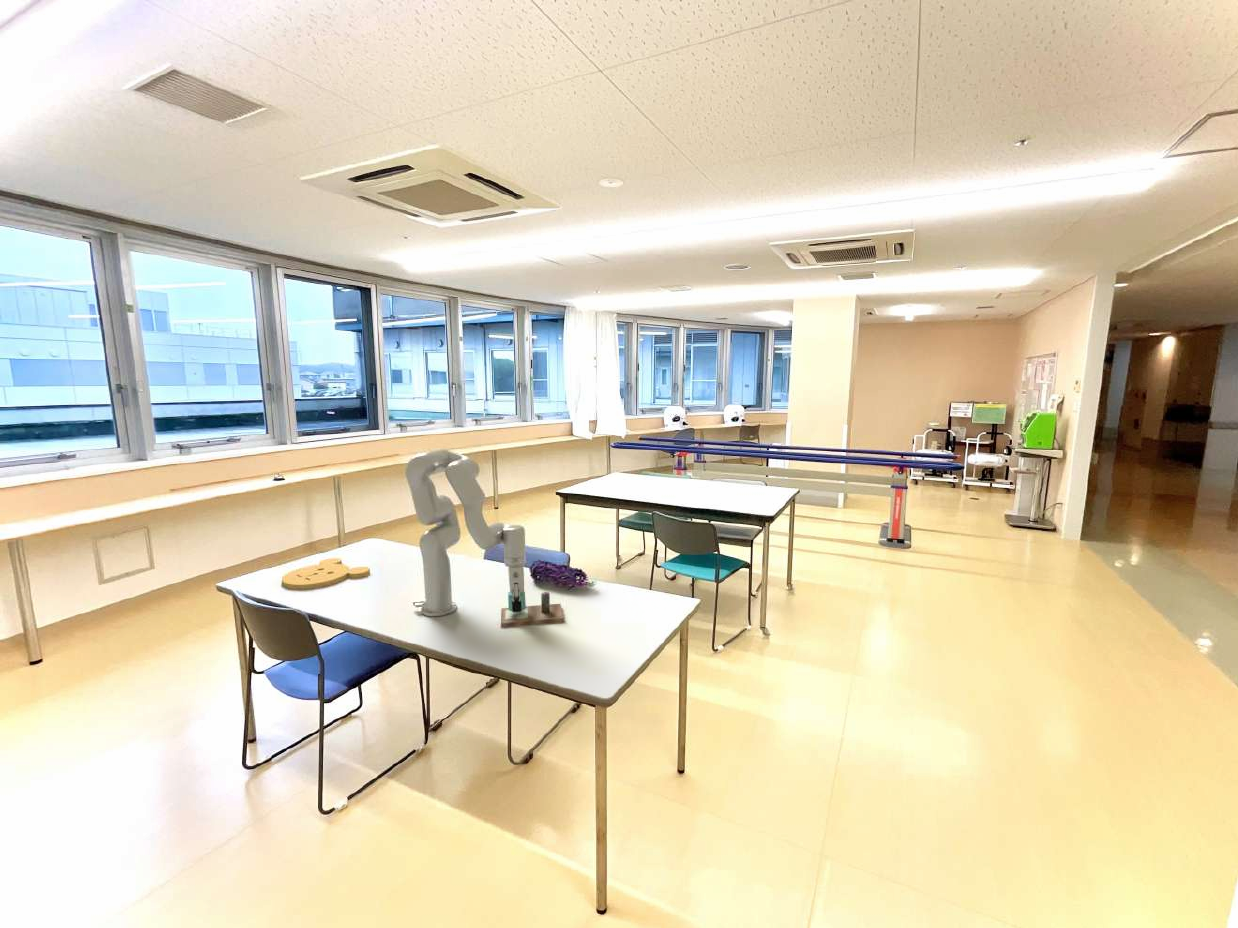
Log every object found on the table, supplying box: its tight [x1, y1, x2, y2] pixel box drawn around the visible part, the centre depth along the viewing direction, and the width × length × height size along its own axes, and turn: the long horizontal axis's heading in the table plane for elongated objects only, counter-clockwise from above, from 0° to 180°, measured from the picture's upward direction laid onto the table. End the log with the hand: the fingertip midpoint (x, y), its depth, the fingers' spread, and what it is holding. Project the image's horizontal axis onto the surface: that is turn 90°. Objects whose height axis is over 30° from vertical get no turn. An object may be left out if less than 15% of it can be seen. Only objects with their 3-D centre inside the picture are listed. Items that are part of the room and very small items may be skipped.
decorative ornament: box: [528, 559, 598, 591], centre depth 225 cm, size 13×11×30 cm
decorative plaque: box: [281, 557, 371, 591], centre depth 235 cm, size 31×3×30 cm
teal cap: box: [507, 590, 527, 611], centre depth 194 cm, size 6×6×6 cm
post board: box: [500, 591, 565, 628], centre depth 195 cm, size 22×13×8 cm, turn 101°
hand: (516, 607), depth 194 cm, fingers closed on teal cap, 6 cm apart
